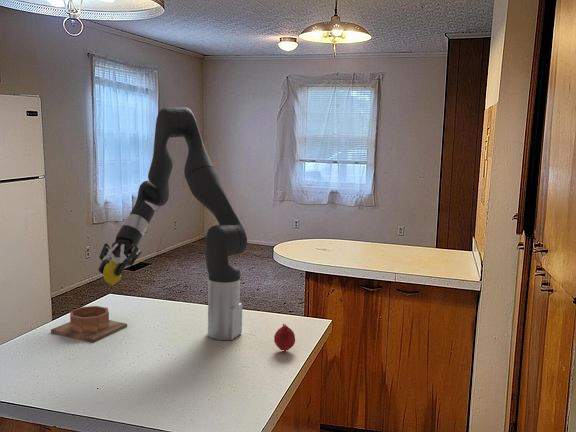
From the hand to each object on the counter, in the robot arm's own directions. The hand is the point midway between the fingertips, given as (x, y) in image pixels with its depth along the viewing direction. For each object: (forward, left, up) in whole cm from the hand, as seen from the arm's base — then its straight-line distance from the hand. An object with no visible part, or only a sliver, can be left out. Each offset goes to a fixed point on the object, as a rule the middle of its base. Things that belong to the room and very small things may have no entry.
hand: (108, 273), depth 166 cm
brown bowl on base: (-3, +11, -14) cm, 18 cm away
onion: (-61, -1, -14) cm, 63 cm away
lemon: (0, -2, -5) cm, 5 cm away
